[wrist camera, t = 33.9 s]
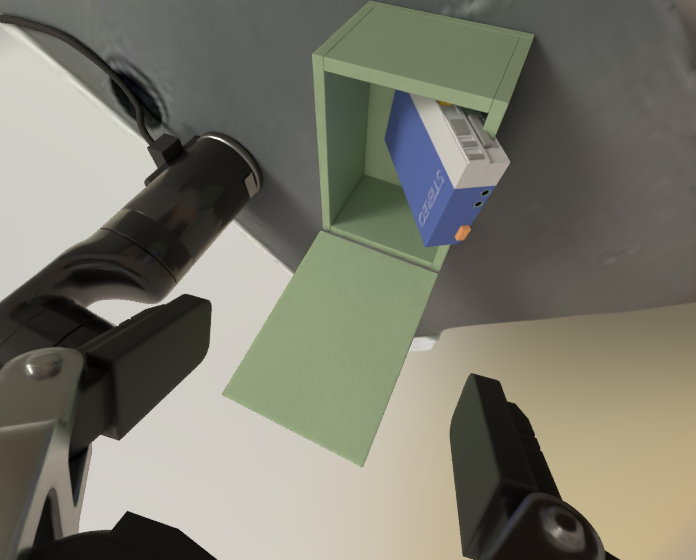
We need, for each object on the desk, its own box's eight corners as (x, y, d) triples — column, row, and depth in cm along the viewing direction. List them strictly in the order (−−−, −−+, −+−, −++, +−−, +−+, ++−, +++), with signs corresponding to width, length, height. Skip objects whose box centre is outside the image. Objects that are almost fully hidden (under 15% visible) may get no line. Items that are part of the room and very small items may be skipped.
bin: (369, -1, 25) (311, 53, 21) (535, 33, 23) (508, 103, 18) (359, 173, 38) (322, 229, 34) (464, 207, 36) (439, 272, 31)
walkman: (413, 137, 31) (462, 247, 26) (383, 139, 31) (426, 251, 25) (443, 41, 24) (518, 162, 19) (405, 41, 24) (470, 165, 18)
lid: (221, 394, 26) (242, 405, 31) (362, 467, 24) (361, 467, 29) (320, 229, 33) (325, 260, 38) (438, 273, 31) (427, 300, 36)
